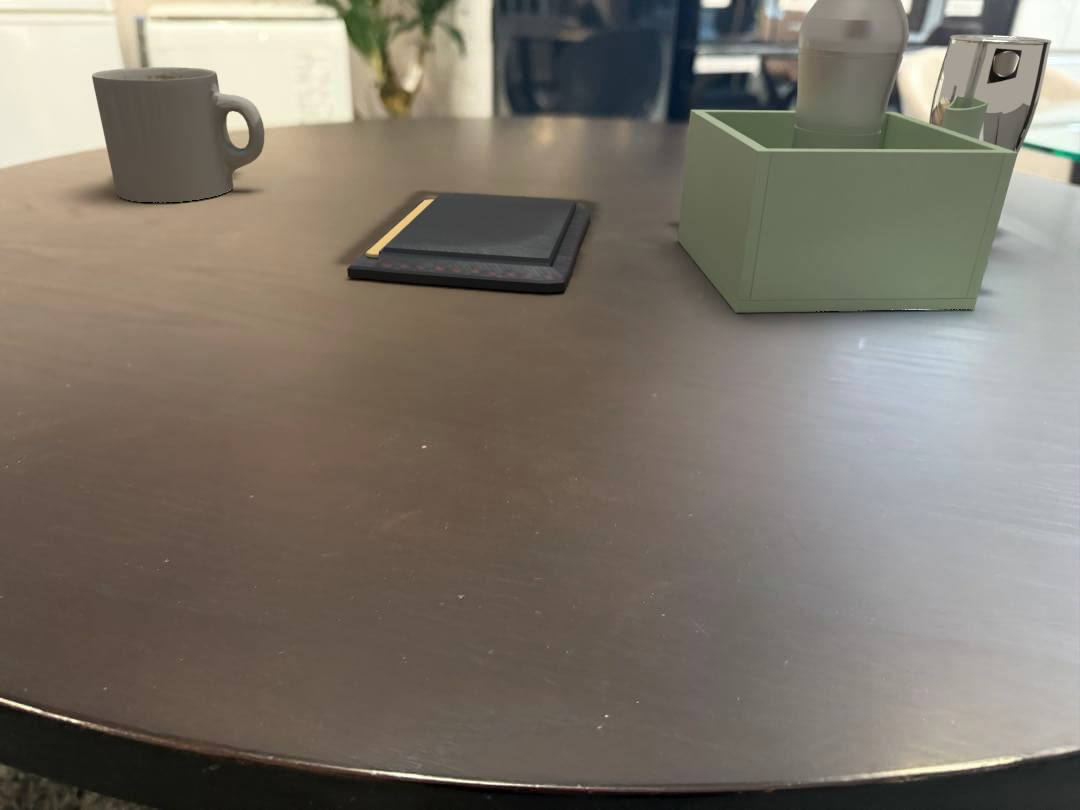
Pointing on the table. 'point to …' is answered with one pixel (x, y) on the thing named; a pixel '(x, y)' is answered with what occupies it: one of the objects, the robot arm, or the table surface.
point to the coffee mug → (172, 133)
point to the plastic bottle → (847, 72)
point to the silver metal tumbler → (990, 87)
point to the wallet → (480, 244)
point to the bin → (840, 214)
